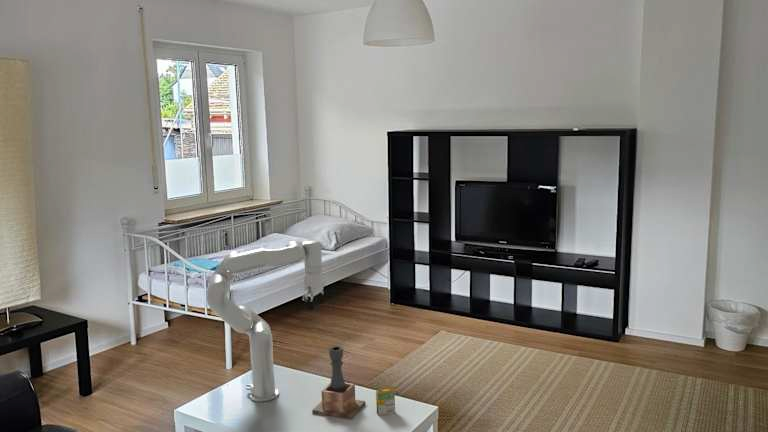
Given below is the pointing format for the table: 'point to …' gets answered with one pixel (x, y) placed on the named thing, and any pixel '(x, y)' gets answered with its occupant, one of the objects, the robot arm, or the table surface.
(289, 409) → the table surface
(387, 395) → the crayon box
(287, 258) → the robot arm
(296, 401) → the table surface
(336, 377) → the candle holder
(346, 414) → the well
